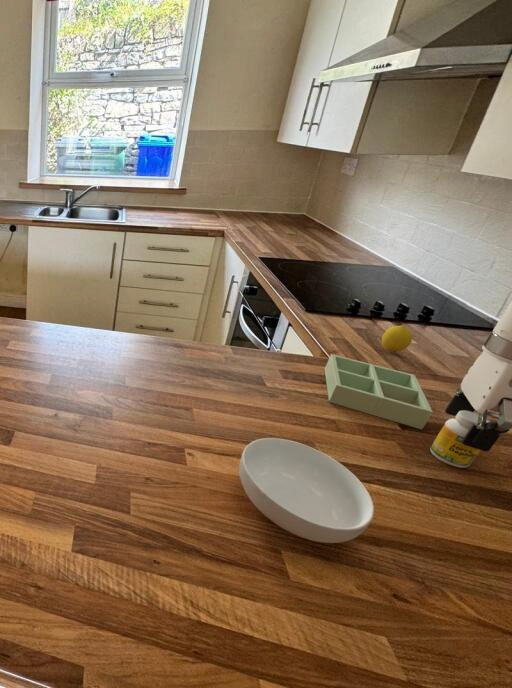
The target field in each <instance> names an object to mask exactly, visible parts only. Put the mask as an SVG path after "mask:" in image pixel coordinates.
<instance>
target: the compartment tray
mask: <svg viewBox="0 0 512 688" xmlns="http://www.w3.org/2000/svg"><path fill="white" fill-rule="evenodd" d="M324 375H325V383H326V389H327V390H326V391H327V397H328V402H329V403H332V404H335V405H339V406H341V407H345V408H348V409H351V410H355V411H358V412H362V413H365V414H369V415H372V416H375V417H379V418H382V419H384V420H388V421H392V422H395V423H398V424H401V425H406V426H408V427H412V428H415V429H418V430H423V429H424V427H425V425H426V424H427V422H428V421H429V419H430V418H431V416H432V415H433V413H434V412H433V410H432V408H431V405H430V403H429V402H428V399H427V397H426V395H425V393H424V391H423V389H422V386H421V385H420V383H419V381H418V379H417V377H416V375H415V374H412V373H408V372H405V371H400V370H397V369H393V368H388V367H385V366H381V365H376V364H373V363H369V362H365V361H360V360H356V359H353V358H349V357H346V356H345V357H344V356H341V355H336V354H333V353H330V356H329V358H328V360H327V363H326V365H325V367H324Z"/></svg>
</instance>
